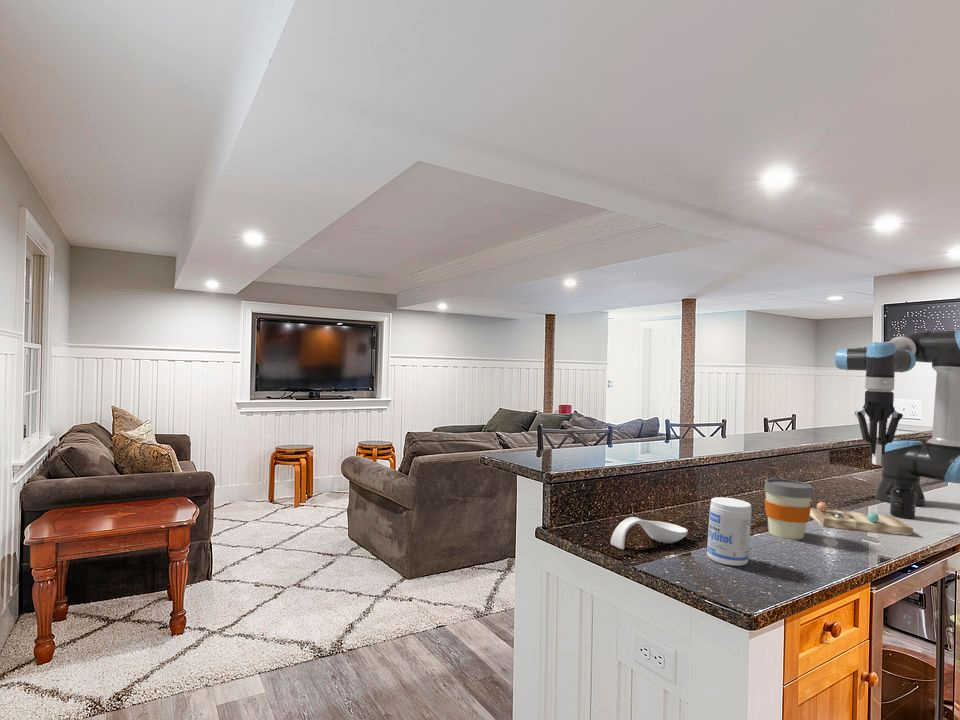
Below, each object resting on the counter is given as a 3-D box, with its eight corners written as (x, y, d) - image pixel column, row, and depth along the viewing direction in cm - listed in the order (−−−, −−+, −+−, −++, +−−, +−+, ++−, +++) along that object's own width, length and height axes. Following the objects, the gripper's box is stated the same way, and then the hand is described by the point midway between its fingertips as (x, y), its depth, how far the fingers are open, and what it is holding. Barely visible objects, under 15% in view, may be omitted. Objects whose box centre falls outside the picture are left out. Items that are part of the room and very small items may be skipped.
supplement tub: (701, 559, 141) (704, 500, 140) (713, 550, 148) (716, 494, 148) (742, 570, 134) (745, 509, 134) (753, 560, 142) (756, 502, 141)
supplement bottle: (919, 520, 188) (921, 484, 188) (896, 518, 189) (898, 482, 189) (908, 514, 194) (909, 480, 194) (885, 512, 196) (887, 478, 196)
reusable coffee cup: (792, 543, 157) (795, 489, 156) (752, 530, 168) (755, 480, 168) (820, 538, 162) (822, 486, 162) (779, 525, 174) (782, 477, 173)
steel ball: (844, 520, 180) (841, 510, 181) (848, 523, 177) (844, 513, 178) (833, 522, 181) (830, 513, 181) (837, 525, 178) (833, 516, 178)
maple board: (892, 523, 182) (892, 516, 182) (912, 536, 169) (913, 527, 169) (809, 515, 187) (810, 508, 187) (823, 526, 175) (823, 518, 175)
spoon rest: (662, 531, 164) (663, 506, 163) (696, 544, 153) (697, 517, 153) (601, 541, 152) (602, 515, 152) (633, 556, 141) (634, 528, 141)
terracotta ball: (825, 510, 185) (825, 501, 185) (828, 513, 182) (829, 503, 182) (815, 509, 185) (815, 500, 185) (818, 512, 182) (818, 502, 182)
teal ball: (876, 521, 174) (876, 511, 174) (880, 524, 171) (880, 514, 171) (865, 520, 175) (865, 510, 175) (869, 523, 172) (869, 513, 172)
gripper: (861, 390, 177) (858, 465, 178) (908, 392, 174) (905, 468, 175) (851, 389, 185) (848, 460, 185) (896, 390, 182) (894, 463, 182)
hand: (876, 464), depth 180 cm, fingers closed
